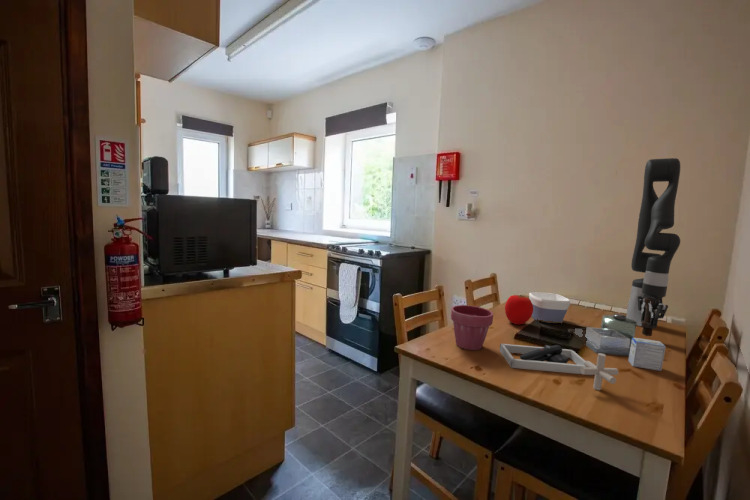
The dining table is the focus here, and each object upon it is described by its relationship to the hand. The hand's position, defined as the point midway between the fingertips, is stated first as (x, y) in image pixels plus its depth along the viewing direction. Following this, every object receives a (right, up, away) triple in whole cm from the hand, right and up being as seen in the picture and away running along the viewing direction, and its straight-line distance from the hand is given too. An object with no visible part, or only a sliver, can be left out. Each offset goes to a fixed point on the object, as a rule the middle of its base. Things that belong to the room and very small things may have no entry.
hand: (648, 324), depth 139 cm
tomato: (-48, -2, +12) cm, 49 cm away
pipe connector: (-47, -9, -42) cm, 64 cm away
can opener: (-56, -7, -27) cm, 63 cm away
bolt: (0, -5, +1) cm, 4 cm away
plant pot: (-76, -4, -16) cm, 78 cm away
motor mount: (-19, -6, -6) cm, 21 cm away
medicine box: (-21, -9, -25) cm, 33 cm away
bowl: (-31, -2, +20) cm, 37 cm away
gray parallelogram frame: (-55, -6, -26) cm, 61 cm away
